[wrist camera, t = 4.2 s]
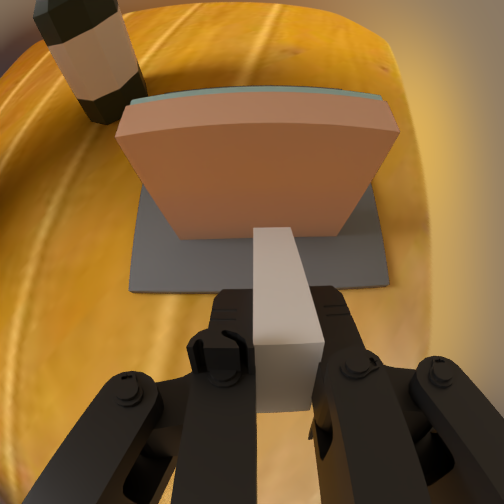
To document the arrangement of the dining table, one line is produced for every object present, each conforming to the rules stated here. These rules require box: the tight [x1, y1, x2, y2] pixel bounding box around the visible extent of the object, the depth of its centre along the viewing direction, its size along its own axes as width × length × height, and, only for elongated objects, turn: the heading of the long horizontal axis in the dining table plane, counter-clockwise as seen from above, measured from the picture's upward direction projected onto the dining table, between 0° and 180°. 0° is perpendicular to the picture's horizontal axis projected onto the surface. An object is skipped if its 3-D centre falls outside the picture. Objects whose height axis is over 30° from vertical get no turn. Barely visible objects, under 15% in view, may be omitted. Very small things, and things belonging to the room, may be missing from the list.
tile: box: [115, 86, 400, 240], centre depth 16 cm, size 2×12×12 cm, turn 91°
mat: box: [129, 85, 389, 294], centre depth 24 cm, size 22×20×1 cm
